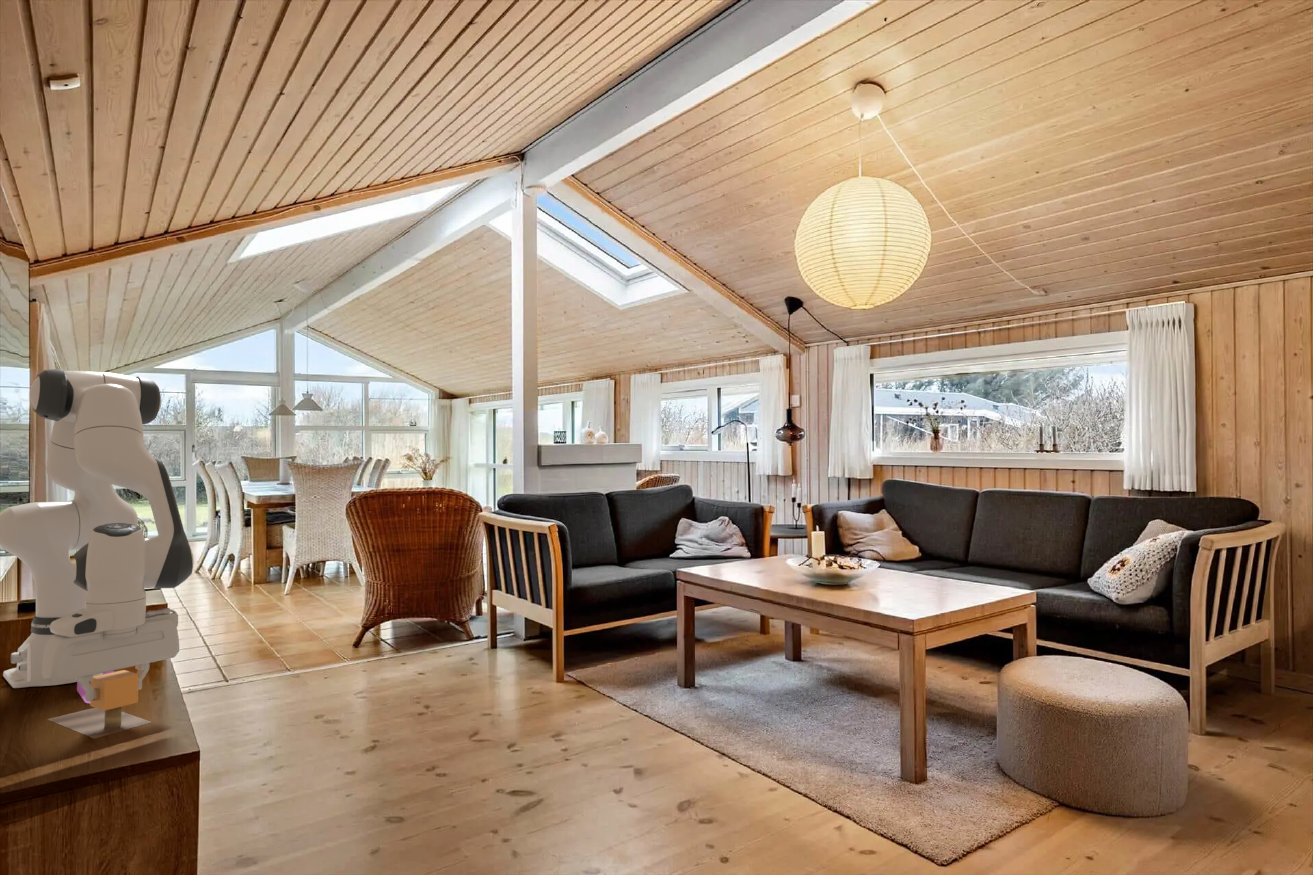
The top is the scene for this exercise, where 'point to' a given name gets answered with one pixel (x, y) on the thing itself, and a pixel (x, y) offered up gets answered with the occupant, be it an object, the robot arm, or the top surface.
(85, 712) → the peg board
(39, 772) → the top surface
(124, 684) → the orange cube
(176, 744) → the top surface
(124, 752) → the top surface
